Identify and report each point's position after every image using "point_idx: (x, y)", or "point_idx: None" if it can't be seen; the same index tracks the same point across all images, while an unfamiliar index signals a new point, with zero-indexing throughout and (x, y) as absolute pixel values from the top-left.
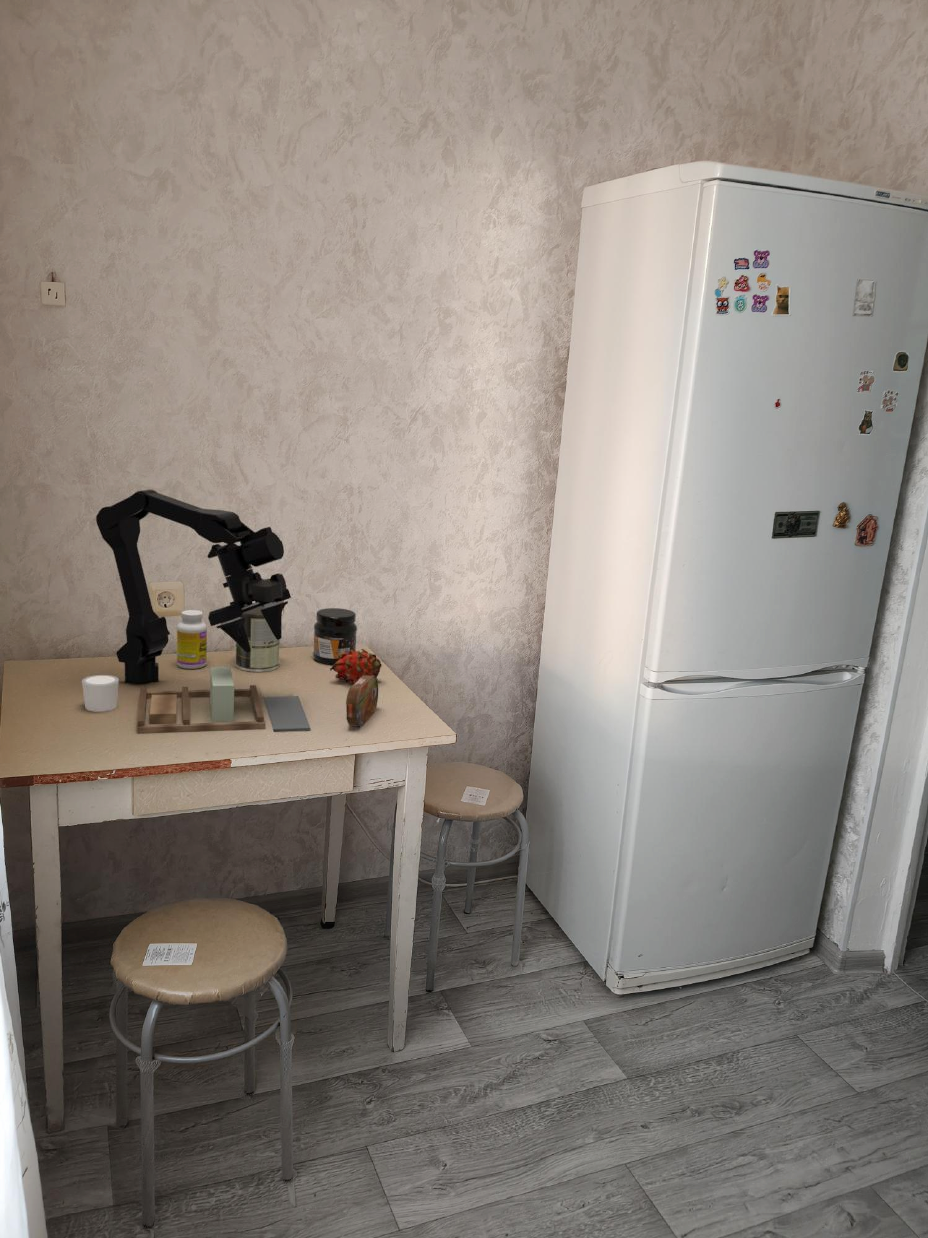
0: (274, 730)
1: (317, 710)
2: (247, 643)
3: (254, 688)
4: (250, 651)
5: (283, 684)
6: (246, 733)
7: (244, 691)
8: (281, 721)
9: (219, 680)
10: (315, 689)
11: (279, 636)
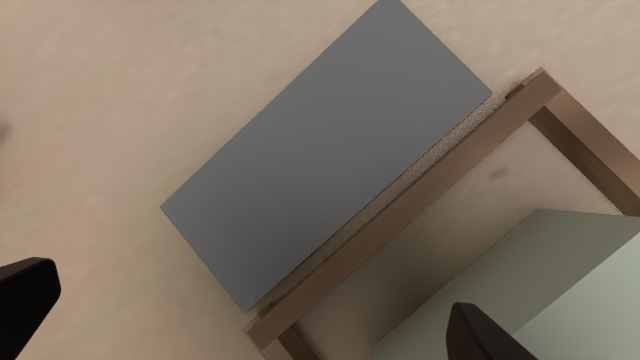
0: (473, 76)
1: (222, 88)
2: (518, 356)
3: (282, 312)
4: (458, 302)
5: (82, 326)
6: (546, 144)
7: (289, 353)
8: (397, 102)
9: (636, 350)
10: (66, 210)
11: (33, 272)
